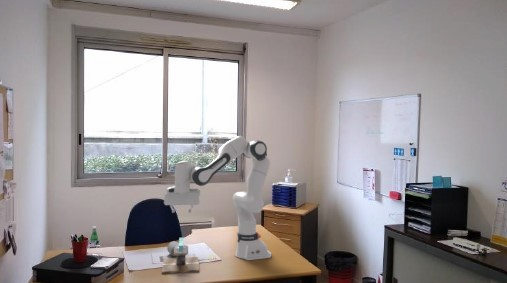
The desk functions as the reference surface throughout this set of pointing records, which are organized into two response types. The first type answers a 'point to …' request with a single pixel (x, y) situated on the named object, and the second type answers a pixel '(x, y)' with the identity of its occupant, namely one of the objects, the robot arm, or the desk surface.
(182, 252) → the coupling
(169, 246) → the ceramic mug
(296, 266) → the desk surface
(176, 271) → the beige square tray
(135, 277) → the desk surface
